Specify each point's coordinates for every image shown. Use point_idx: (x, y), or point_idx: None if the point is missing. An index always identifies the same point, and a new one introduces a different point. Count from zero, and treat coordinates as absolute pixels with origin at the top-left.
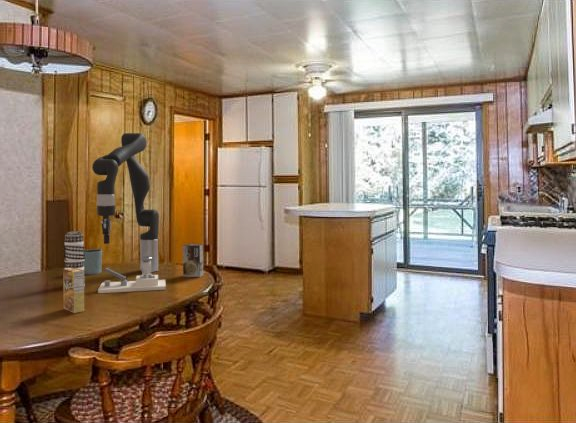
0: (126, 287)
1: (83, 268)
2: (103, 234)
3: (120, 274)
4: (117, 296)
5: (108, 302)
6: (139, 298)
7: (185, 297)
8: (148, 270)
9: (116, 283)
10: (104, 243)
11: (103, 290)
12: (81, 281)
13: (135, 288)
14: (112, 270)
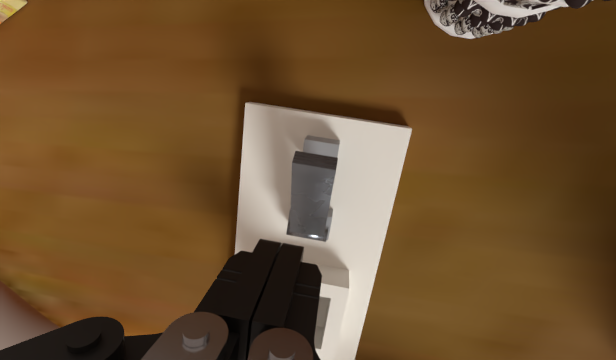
0: (253, 219)
1: (497, 11)
2: (169, 325)
3: (320, 225)
4: (171, 172)
5: (85, 134)
6: (124, 236)
7: None
8: None
9: (356, 190)
10: (259, 242)
11: (245, 126)
12: None
13: (235, 247)
14: (326, 196)
